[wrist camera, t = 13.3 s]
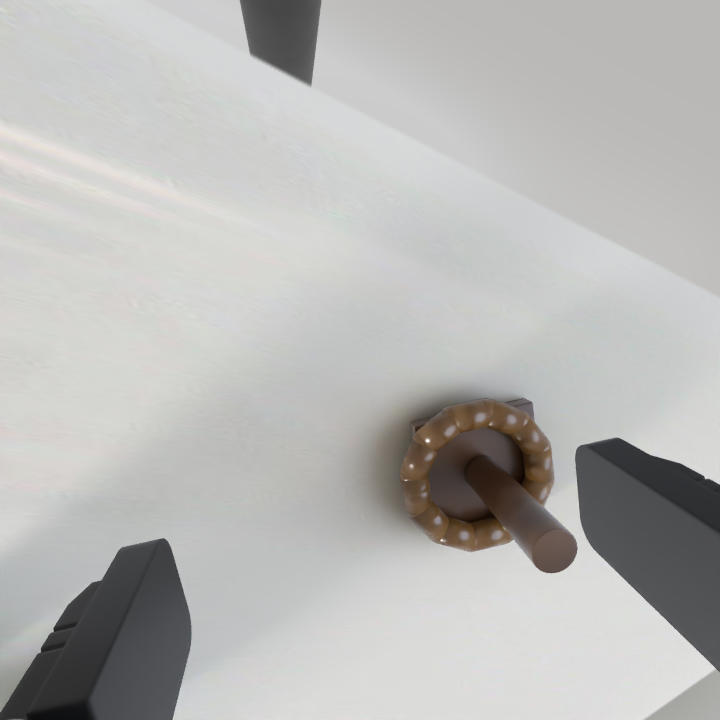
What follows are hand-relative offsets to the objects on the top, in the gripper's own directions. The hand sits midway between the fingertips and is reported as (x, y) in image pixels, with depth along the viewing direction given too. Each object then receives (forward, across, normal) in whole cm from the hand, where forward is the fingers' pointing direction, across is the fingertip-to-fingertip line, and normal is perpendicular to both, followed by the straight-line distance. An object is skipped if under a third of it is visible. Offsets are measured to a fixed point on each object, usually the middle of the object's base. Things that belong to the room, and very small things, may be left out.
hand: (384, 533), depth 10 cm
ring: (+24, -9, +12) cm, 29 cm away
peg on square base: (+27, -10, +13) cm, 31 cm away
